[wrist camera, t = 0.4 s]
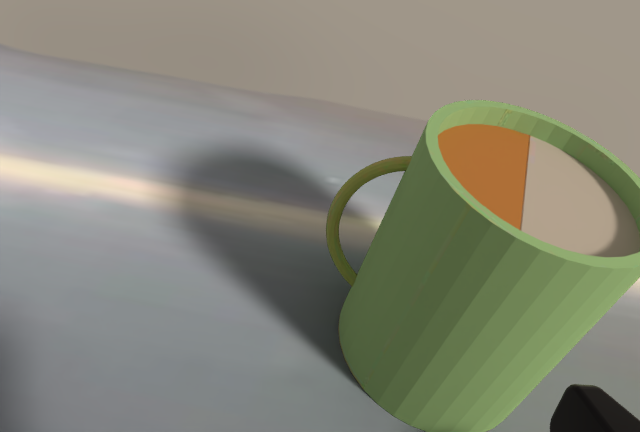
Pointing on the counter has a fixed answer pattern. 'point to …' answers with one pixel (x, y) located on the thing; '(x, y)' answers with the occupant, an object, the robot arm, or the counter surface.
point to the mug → (484, 263)
